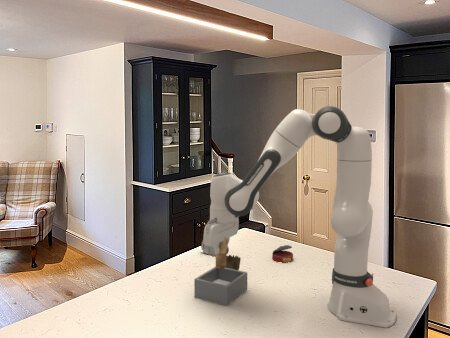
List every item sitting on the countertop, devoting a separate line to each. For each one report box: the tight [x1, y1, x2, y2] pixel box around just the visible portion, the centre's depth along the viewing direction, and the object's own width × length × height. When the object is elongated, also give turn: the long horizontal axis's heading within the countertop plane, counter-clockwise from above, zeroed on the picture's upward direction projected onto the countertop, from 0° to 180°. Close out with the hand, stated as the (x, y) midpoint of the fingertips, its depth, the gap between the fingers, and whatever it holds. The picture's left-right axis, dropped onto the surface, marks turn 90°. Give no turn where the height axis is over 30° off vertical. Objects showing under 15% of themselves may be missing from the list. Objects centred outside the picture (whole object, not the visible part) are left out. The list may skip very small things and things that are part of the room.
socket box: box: [193, 265, 248, 307], centre depth 149 cm, size 14×16×7 cm
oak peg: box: [215, 237, 227, 269], centre depth 148 cm, size 4×4×12 cm
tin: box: [200, 240, 230, 257], centre depth 192 cm, size 15×3×8 cm, turn 58°
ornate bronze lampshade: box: [226, 254, 242, 271], centre depth 166 cm, size 8×7×8 cm
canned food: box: [271, 244, 294, 264], centre depth 186 cm, size 11×10×10 cm
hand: (221, 251), depth 148 cm, fingers closed on oak peg, 4 cm apart
